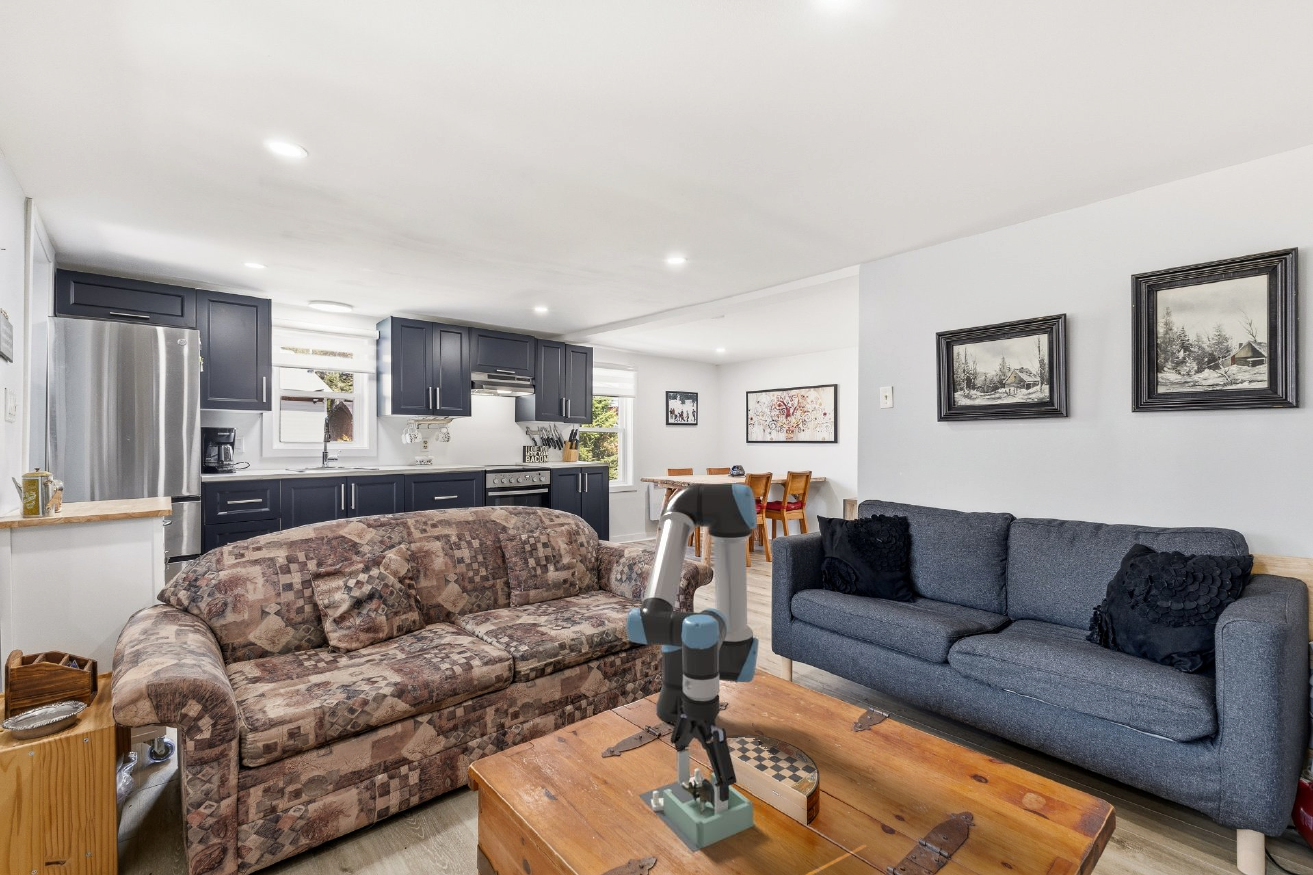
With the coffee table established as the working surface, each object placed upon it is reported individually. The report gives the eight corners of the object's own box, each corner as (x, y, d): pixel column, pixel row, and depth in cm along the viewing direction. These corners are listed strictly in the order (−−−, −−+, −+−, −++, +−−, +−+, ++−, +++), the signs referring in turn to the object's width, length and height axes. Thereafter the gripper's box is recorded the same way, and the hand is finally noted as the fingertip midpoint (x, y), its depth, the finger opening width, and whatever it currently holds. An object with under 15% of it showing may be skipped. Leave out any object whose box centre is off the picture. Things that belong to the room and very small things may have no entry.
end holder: (714, 792, 133) (714, 772, 133) (753, 825, 122) (753, 803, 122) (663, 812, 126) (663, 790, 126) (699, 849, 115) (699, 825, 115)
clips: (696, 778, 138) (696, 765, 138) (713, 793, 133) (713, 779, 133) (641, 798, 131) (641, 784, 131) (657, 814, 125) (656, 800, 125)
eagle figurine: (677, 807, 125) (713, 816, 120) (683, 768, 129) (718, 775, 123) (698, 813, 130) (734, 821, 124) (704, 775, 134) (739, 782, 128)
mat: (695, 776, 140) (695, 774, 140) (755, 826, 122) (755, 824, 122) (638, 796, 132) (638, 794, 132) (692, 854, 114) (692, 851, 114)
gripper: (654, 676, 134) (655, 773, 134) (722, 722, 113) (723, 837, 113) (683, 669, 138) (683, 763, 138) (754, 712, 117) (755, 823, 117)
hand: (701, 797), depth 126 cm, fingers open, 13 cm apart
